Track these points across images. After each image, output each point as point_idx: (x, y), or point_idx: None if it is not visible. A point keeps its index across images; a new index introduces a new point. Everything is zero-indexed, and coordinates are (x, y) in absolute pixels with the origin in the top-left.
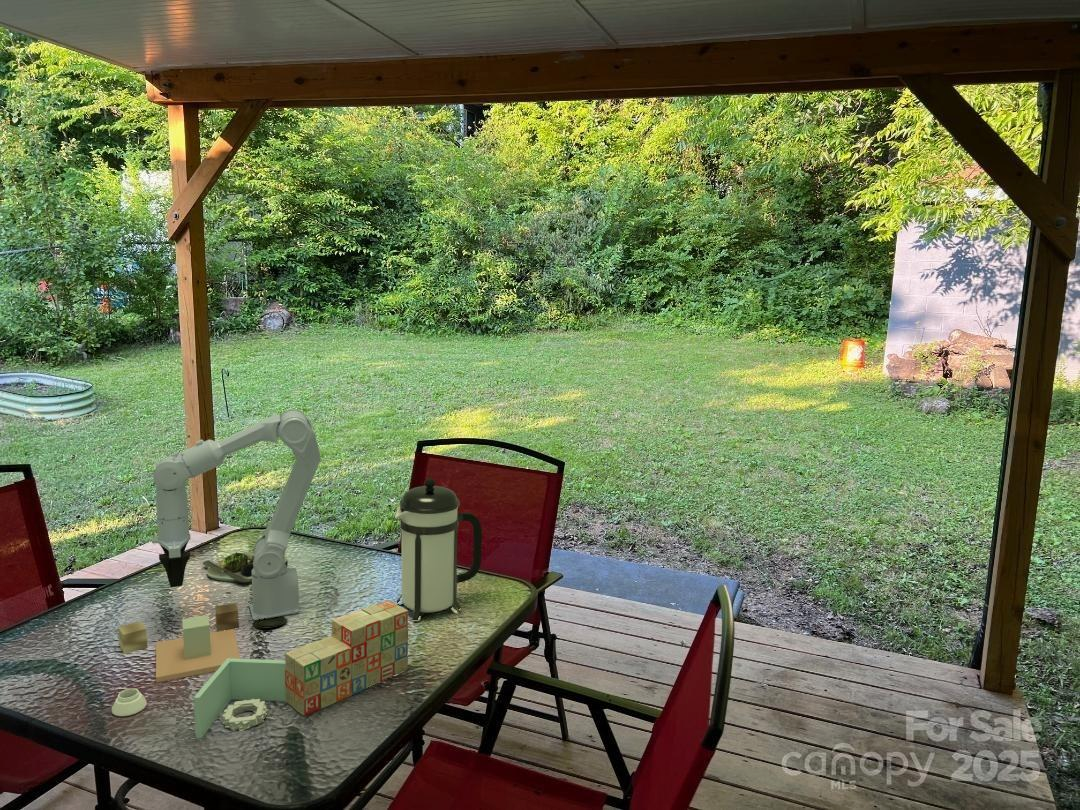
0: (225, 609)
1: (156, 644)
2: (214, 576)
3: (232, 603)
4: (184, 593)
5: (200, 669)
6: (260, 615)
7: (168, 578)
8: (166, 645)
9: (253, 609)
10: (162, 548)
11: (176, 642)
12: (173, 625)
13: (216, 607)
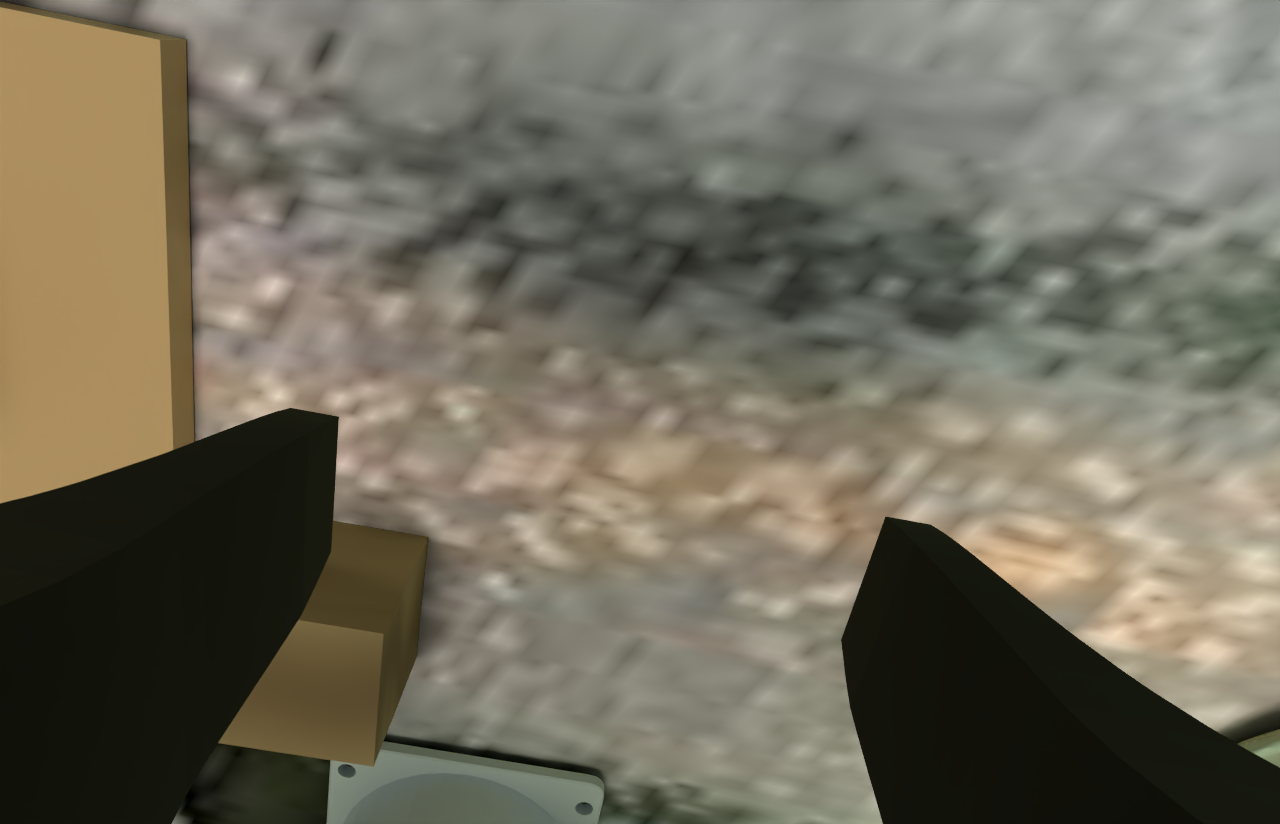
0: (272, 677)
1: (109, 32)
2: (1277, 747)
3: (374, 744)
4: (1196, 484)
5: None
6: (362, 789)
7: (165, 453)
8: (51, 111)
9: (439, 789)
10: (1189, 821)
11: (87, 202)
12: (576, 264)
13: (348, 634)
